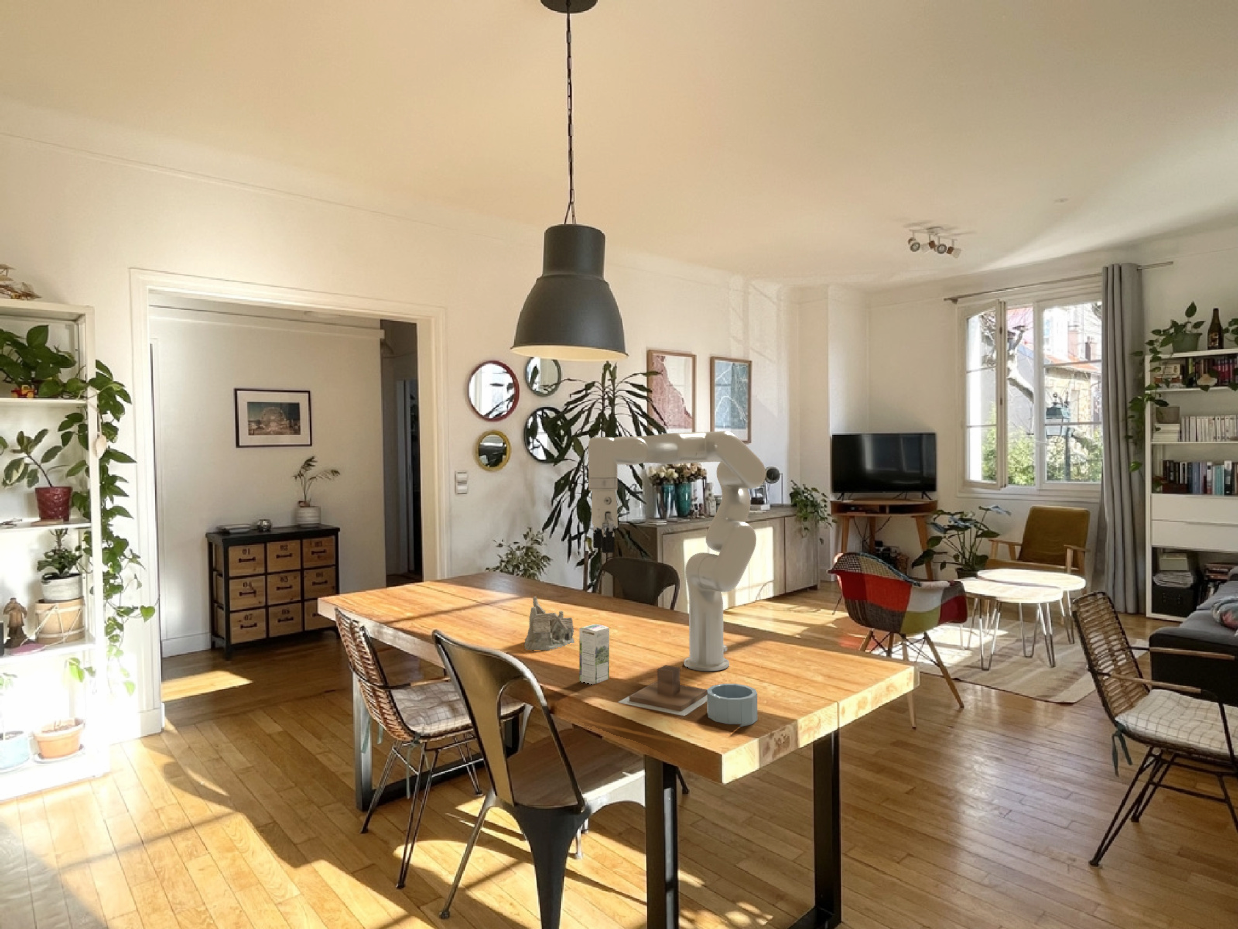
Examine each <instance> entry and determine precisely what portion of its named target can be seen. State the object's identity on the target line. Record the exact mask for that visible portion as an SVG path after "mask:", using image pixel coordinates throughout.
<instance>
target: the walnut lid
mask: <svg viewBox="0 0 1238 929" xmlns="http://www.w3.org/2000/svg"><path fill="white" fill-rule="evenodd" d="M680 668H681V667H680V666H679V667H678V666H673V665H667V664H665V665H662V666H660V667H659V668H657V670H656V671H657V672H656V674H657V678H656V679H657V680H656V681H654V682H655V683H654V682H652V683H653V684H652V683H651V684H649V685H647V686H645V687H643V688H644V689H643V688H642V690H641V689H639V690H640V691H639V690H637V691H635V692H634V693H632V694H630V695H631V696H630V695H628V696H629V701H631V702H636V703H641V704H646V705H651V706H656V707H661V708H666V709H670V710H675V711H680V712H681V711H683V710H684V709H686V708H687V707H689V706H690V705H692V704H694V703H695V702H697V701H698V700H700V699H701V698H703V697H704V696H706V695H707V689H708V688H707V689H706V688H701V687H695V686H690V685H685V684H681V671H680V670H681V669H680Z"/></svg>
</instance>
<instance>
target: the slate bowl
mask: <svg viewBox="0 0 1238 929" xmlns="http://www.w3.org/2000/svg"><path fill="white" fill-rule="evenodd" d="M706 704H707V705H706V709H707V712H706V713H707V717H708V718H709V719H710V720H712V721H715V722H716V723H722V724H726V725H738V727H739V728H740V727H741V728H742V727H746V726H751V725H753V724H755V723H756V722H757V721H758V691H757V690H756V689H755V688H754V687H752V686H749V685H745V684H739V683H720V684H719V683H718V684H715V685H712V686H710V687H708V688H707V702H706Z"/></svg>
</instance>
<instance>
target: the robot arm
mask: <svg viewBox="0 0 1238 929" xmlns="http://www.w3.org/2000/svg"><path fill="white" fill-rule="evenodd" d="M587 447H588V449H587V450H588V453H587V454H588V491H589V492H590V491H591V492H592V493H591V524H592V526H593V529H592V532H593V533H592V546H593V548H594V549H601V553H603V554H612V553H615V529H617V528H618V526H619V523H618V519H619V518H618V503H617V494H616V491H618V465H619V466H620V465H623V466H625V465H626V466H635V465H639V464H661V465H662V464H663V465H679V464H680V465H681V464H694V463H696V464H697V463H698V464H699V463H716V462H717V463H718V464H717V467H716V478H717V480H718V483H719V485H720V489H721V501H720V504H719V505H718V506H719V507H718V508H717V511H716V513H715V515H714V517H713V519H712V521H711V523H710V525H709V527H708V529H707V531H706V535H705V543H706V546H708V548H709V549H710V550H712V551H714V552H716V553H717V552H718V554H714V553H709V552H698V553H695V554H693V555H692V556H690V557H689V559H688V560H687V562H686V565H685V570H684V571H685V572H684V573H685V578H686V585H687V592H688V620H689V621H688V622H689V623H688V626H689V628H688V630H689V632H688V635H689V639H688V641H689V645H688V646H689V657H686V658H685V659H684V660H683V665H684V666H685V667H686V668H687V667H688V669H691V670H694V671H698V672H699V671H700V672H716V671H721V670H725V669H727V668H729V666H730V661H729V660H728V659H727V658H725V657H724V655H725V654H724V653H725V652H727V651H728V646H727V645H726V644H724V601H723V600H724V599H723V594H722V593H728V592H731V591H732V590H734V589H735V588H736V587H737V586H738V584H739V583H740V581H741V579H742V578H743V575H744V574H745V572H746V569H747V566H748V564H749V563H750V562H751V558H752V556H753V555H754V552H755V550H756V546H757V534H756V531H755V529H754V528H753V527H752V525H750V524H749V523H747V522H746V521H747V519H748V516H749V514H750V511H751V496H750V493H749V489H750V490H751V489H752V490H753V489H756V488H758V487H760V486H761V485H763V483H764V482H765V480H766V477H767V472H766V471H767V470H766V467H765V465H764V463H763V462H762V461H761V459H760V458H759V457H758V456H757V455H756V454H755V453H754V452H753V451H752V450H751V449H750V447H748V446H747V444H745V443H744V441H742V440H741V439H740V438H739V437H738V436H737V435H736V434H734V433H732V432H730V431H724V430H723V431H704V432H703V431H697V432H696V431H694V432H669V433H660V434H654V435H653V434H652V435H643V436H642V435H639V436H631V435H630V436H616V437H611V436H609V437H607V436H602V437H601V436H600V437H597V436H596V437H592V438H589V441H588V446H587Z"/></svg>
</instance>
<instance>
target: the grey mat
mask: <svg viewBox="0 0 1238 929" xmlns="http://www.w3.org/2000/svg"><path fill="white" fill-rule="evenodd" d="M655 682H656V681H654V682H652V683H651V684H653V683H655ZM644 688H645V687H643V688H642V689H644ZM642 689H639V690H638V691H640V690H642ZM631 695H632V694H630V695H628V696H627V697H625V698H623V699H621V700H619V701H617V704H618V703H620V704H625V705H627V706H633V707H639V708H643V709H648V710H653V711H658V712H663V713H669V714H672V715H673V714H674V715H678V716H682V717H685V716H687V715H689V714H690V713H692V712H693V711H694V710H696V709H698V707H701V706H702V705H703V704H705V703H707V695H706V696H704V697H703V698H701V699H700V700H698V701H697V702H695V703H694V704H692V705H690V706H689V707H687V708H686V709H684V710H683V711H681V712H680V711H675V710H670V709H666V708H661V707H656V706H651V705H646V704H641V703H636V702H631V701H629V696H631Z"/></svg>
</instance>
